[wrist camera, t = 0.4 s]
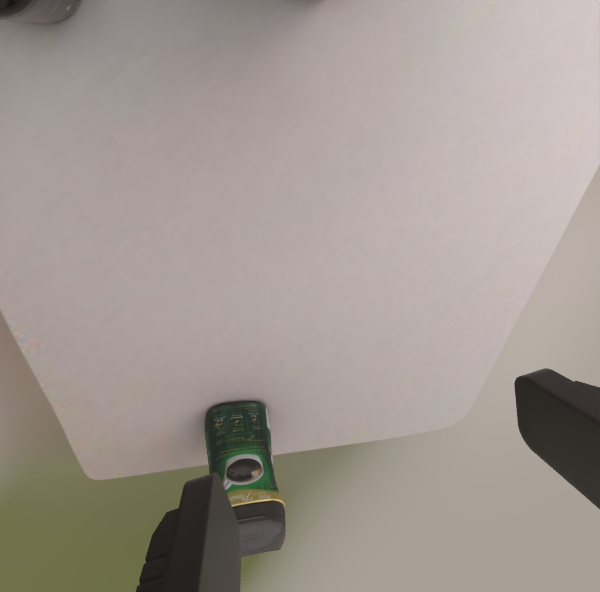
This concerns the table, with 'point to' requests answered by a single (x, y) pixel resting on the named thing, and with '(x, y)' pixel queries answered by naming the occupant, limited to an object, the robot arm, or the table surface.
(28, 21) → the supplement bottle
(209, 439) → the coffee jar
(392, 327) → the table surface
